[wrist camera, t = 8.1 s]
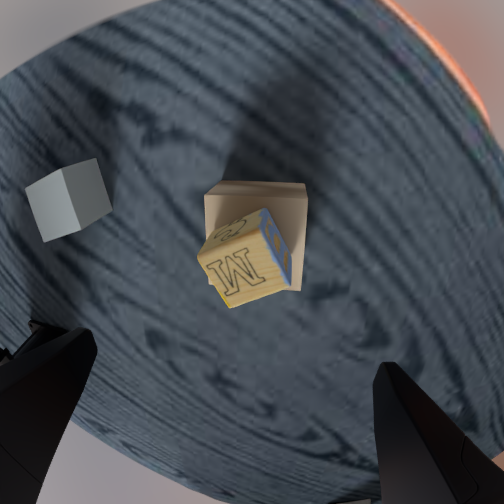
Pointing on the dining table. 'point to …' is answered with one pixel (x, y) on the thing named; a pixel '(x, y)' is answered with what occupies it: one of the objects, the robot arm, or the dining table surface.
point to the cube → (68, 199)
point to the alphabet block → (247, 259)
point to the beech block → (255, 198)
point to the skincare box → (359, 502)
